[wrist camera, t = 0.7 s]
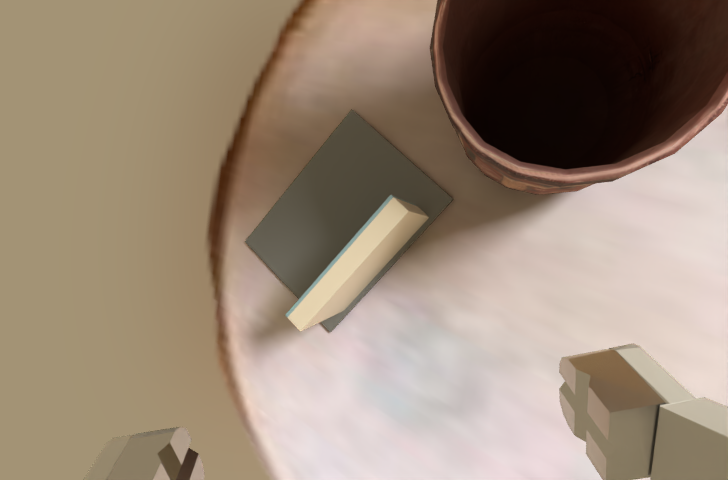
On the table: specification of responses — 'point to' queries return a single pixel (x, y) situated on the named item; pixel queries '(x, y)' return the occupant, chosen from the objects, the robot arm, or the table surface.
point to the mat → (340, 206)
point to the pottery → (578, 84)
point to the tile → (358, 262)
